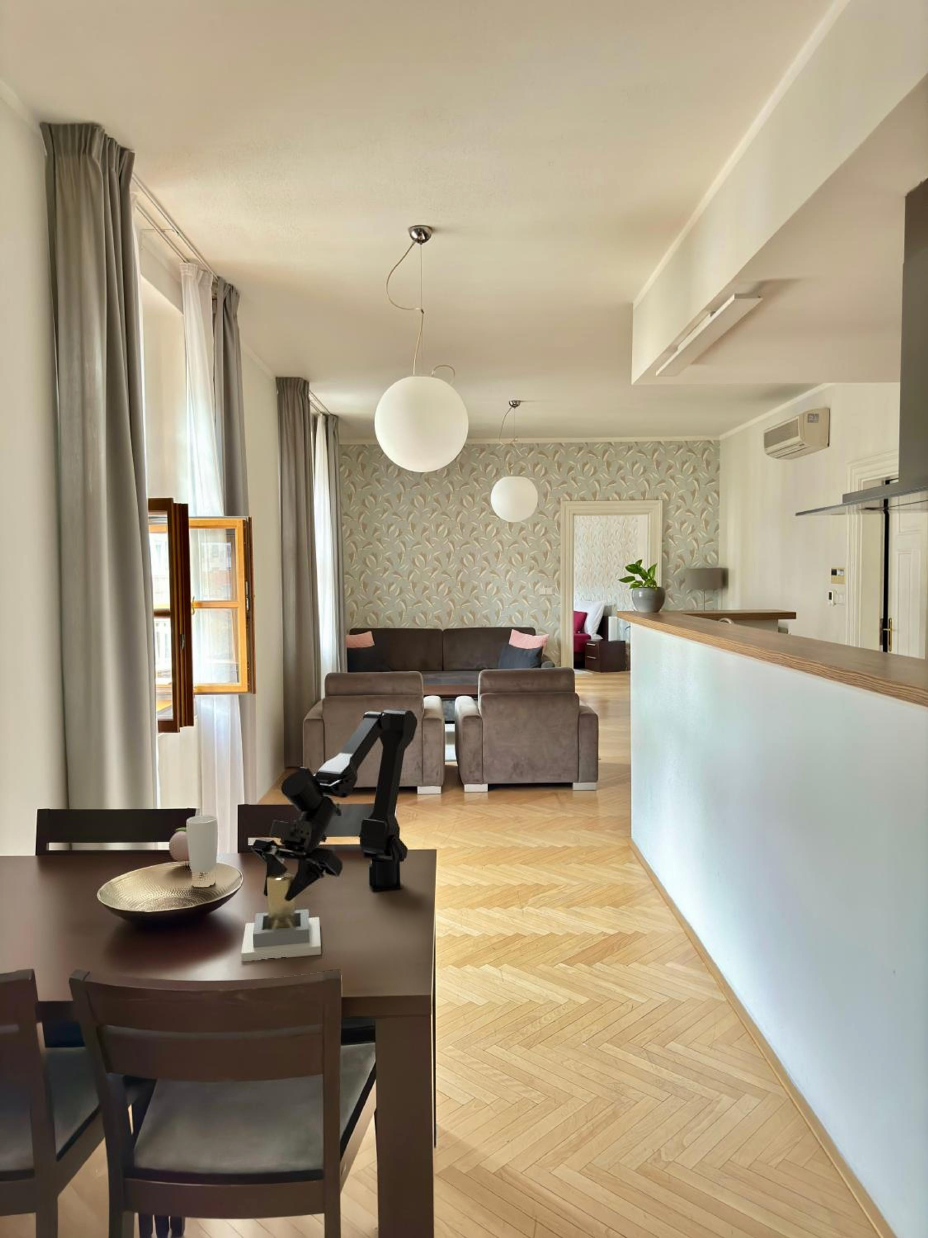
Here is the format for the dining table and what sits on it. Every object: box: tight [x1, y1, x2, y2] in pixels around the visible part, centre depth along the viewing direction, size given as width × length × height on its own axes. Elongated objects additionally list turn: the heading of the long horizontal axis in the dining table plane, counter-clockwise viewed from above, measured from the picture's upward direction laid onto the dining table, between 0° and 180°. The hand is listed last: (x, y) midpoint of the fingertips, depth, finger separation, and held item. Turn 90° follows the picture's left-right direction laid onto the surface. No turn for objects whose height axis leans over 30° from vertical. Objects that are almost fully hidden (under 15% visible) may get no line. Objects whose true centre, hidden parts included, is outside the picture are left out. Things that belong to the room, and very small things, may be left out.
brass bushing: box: [267, 872, 296, 930], centre depth 162 cm, size 5×5×10 cm
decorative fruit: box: [168, 827, 189, 862], centre depth 207 cm, size 9×8×10 cm
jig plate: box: [240, 908, 322, 962], centre depth 162 cm, size 14×14×4 cm
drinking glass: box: [185, 814, 219, 872], centre depth 194 cm, size 7×7×15 cm
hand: (276, 898), depth 161 cm, fingers closed on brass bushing, 5 cm apart
